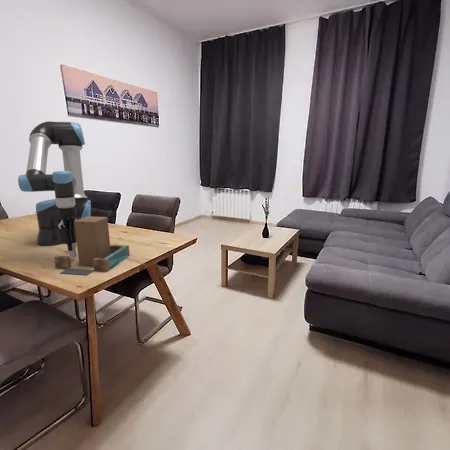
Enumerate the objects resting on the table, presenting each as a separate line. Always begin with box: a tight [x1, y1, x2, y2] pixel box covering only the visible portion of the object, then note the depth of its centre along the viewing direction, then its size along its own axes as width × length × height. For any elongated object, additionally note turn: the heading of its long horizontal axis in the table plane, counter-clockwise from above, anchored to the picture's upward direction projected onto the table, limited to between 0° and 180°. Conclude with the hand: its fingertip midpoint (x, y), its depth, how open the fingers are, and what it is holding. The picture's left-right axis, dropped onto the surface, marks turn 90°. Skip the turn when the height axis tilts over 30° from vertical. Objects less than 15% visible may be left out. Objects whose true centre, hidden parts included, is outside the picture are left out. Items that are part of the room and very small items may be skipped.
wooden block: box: [74, 215, 111, 266], centre depth 129 cm, size 10×10×20 cm
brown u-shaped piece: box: [53, 244, 130, 272], centre depth 131 cm, size 24×20×5 cm
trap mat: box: [59, 267, 94, 276], centre depth 120 cm, size 12×5×1 cm, turn 82°
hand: (73, 256), depth 133 cm, fingers closed
